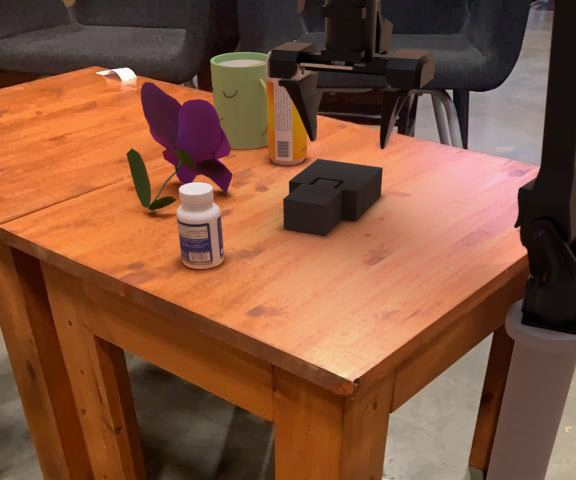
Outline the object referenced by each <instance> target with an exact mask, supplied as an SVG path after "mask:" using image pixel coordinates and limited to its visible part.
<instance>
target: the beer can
mask: <svg viewBox="0 0 576 480" xmlns="http://www.w3.org/2000/svg"><path fill="white" fill-rule="evenodd" d="M271 51H272V50H270V51H269V52H268V54H267V55H268V56H269V54H270V52H271ZM267 60H268V57H267ZM267 60H266V85H267V116H268V158H270V159H271V161H272V163H274V164H275V165H279V166H295V165H299V164H302V163H303V162H304V159H306V157H307V156H308V134H307V132H306V130H305V127H304V125H303V123H302V120H301V118H300V116H299V113H298V111H297V109H296V107H295V105H294V103H293V102H292V100H291V98H290V96H289V94H288V93H287V91H286V89H285V88H284V87H281V86H279V85H278V81H279V80H280V78H270V77H268V67H267Z"/></svg>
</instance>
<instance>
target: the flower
mask: <svg viewBox="0 0 576 480" xmlns="http://www.w3.org/2000/svg"><path fill="white" fill-rule="evenodd" d="M140 101H141V102H140V103H141V107H142V111H143V115H144V119H145V120H146V122H147V125H148V127H149V128H148V129H149V134H150V135H151V137H152V138H153V140H154V141H155V143H158V144H159V145H160V146H162V147H163V148H164V150H162V151H161V153H162V156H163V159H164V160H165V161H166V162H168V163H170V164H171V165H172V166H173V167H174V170H175V171H174V172H173V173H172V174H171V175H170V176H168V178H167V179H166V180H165V181H164V182H163V184H162V186H161V188H160V189H159V191H158V193H157V195H156V196H155V198H154V199H153V200H152V188H151V182H150V181H151V180H150V177H149V175H148V172H147V171H148V170H147V167H146V164H145V162H144V160H143V157H142V156H141V154H140V152H139V151H138V150H136V149H134V148H133V147H132V148H130V149H129V151H127V152H126V158H127V161H128V166H129V170H130V175H131V178H132V182H133V186H134V190H135V193H136V195H137V198H138V200H139V202H140V204H141V206H142V207H143V208H146V209H148V211H151V212H154V213H157V211H156V210H160V209H163V208H166V207H168V206H171V205H172V204H174V203H175V202H177V199H176V198H175V197H174V196H168V195H167V196H163V197H160V195H161V194H162V191H163V190H164V188H165V187H166V184H167V183H168V182H171V179H172V178H173V177H174V176H175V175H176V177H177V179H178V181H179V183H181V184H184V185H185V184H188V183H194V180H195V179H196V178H197V176H204V177H206V178H208V179H210V180H211V181H212V182H213V183H214V184H215V185H216V186H217V187H218V188H220V190H221V191H222V192H223V193H224V194H228V191H229V187H230V184H231V182H232V179H233V173H232V172H231V171H230V169H229V168H228V167H227V166H226V165H225V163H223V162H222V161H221V160H220V159H223V158H225V157H229V156H230V153H231V151H232V148H231V147H230V144H229V142H228V139H227V136H226V134H225V133H224V131H223V130H222V128H221V126H220V121H219V116H218V114H217V111H216V110H215V108H214V104H212V103H210V101H208V100H205V99H201V98H197V99H188V100H186V101H184V102H183V103H182V104H181V103H180V101H178V99H176V98H175V97H173V96H171V95H170V94H168V93H166V92H165V91H164V90H163V89H161V88H160V87H159V86H157V84H155V83H154V82H151V81H145V82H143V84H142V85H141V89H140ZM159 197H160V198H159Z"/></svg>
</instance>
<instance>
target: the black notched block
mask: <svg viewBox="0 0 576 480" xmlns="http://www.w3.org/2000/svg"><path fill="white" fill-rule="evenodd" d="M383 168H384V167H382V166H373V165H367V164H360V163H352V162H345V161H337V160H331V159H323V158H316V159H315V160H314V161H312V162H311V163H310V164H309V165H307V167H305V168H304V169H302V170H301V171H300V172H299V173H297V174H296V175H295V176H293V177H292V178H291V179H289V181H288V194H290V193H291V192H292V191H293V190H295V189H296V188H297V187H298V186H300V185H301V184H308V185H313V184H314V183H315V182H317V181H318V180H319V179H324V180H331V181H338V182H340V186H339V187H338V188H337V189H342V190H343V204H342V220H347V221H353V222H357V221H358V220H359V219H360V218H361V217H362V216H363V215H364V214H365V213H366V212H367V211H368V210H369V209H370V208H371V207H372V206H373V204H375V203H376V202H377V201H378V200H379V199H380V198H381V197H382V186H383V184H382V183H383V172H384V171H383V170H384V169H383Z"/></svg>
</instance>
